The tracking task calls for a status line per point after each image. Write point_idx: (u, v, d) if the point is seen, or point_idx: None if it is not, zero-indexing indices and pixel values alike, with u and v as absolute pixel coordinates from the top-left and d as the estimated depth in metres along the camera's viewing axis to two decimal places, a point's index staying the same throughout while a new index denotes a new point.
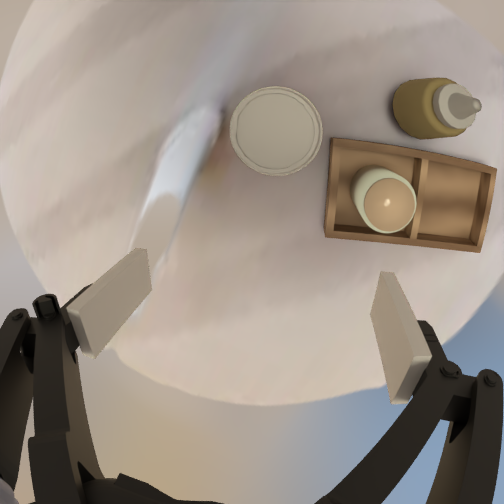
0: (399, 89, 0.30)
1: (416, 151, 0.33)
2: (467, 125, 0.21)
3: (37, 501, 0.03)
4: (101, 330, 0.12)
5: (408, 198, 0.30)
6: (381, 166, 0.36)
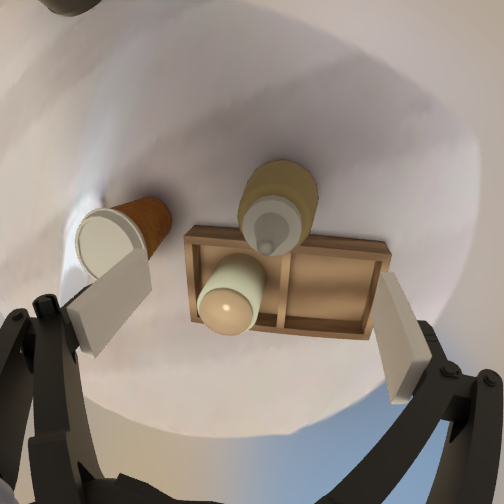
0: (250, 178, 0.32)
1: None
2: (285, 250, 0.24)
3: (37, 501, 0.03)
4: (101, 330, 0.12)
5: (243, 309, 0.32)
6: (241, 257, 0.38)
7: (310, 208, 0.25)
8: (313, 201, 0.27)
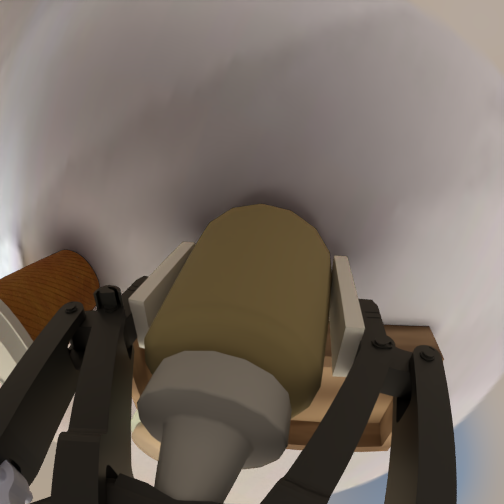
0: (198, 241, 0.16)
1: None
2: (247, 467, 0.08)
3: (53, 496, 0.04)
4: None
5: None
6: None
7: (316, 366, 0.09)
8: (324, 322, 0.11)
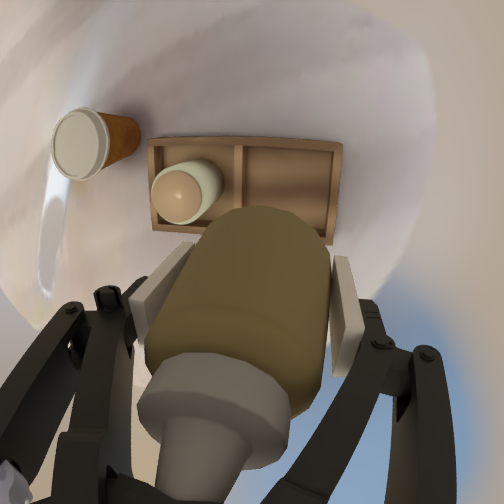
0: None
1: (227, 138, 0.35)
2: (247, 468, 0.08)
3: (52, 497, 0.04)
4: None
5: (191, 188, 0.32)
6: (199, 159, 0.39)
7: (316, 367, 0.09)
8: (324, 324, 0.11)
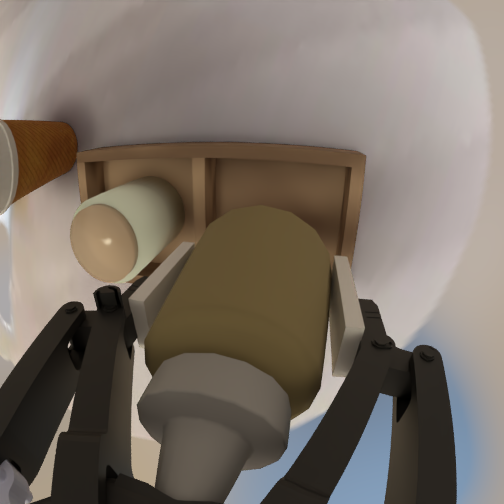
0: (198, 242, 0.16)
1: (181, 148, 0.22)
2: (247, 468, 0.08)
3: (52, 496, 0.04)
4: None
5: (119, 234, 0.19)
6: (146, 178, 0.25)
7: (316, 368, 0.09)
8: (324, 324, 0.11)
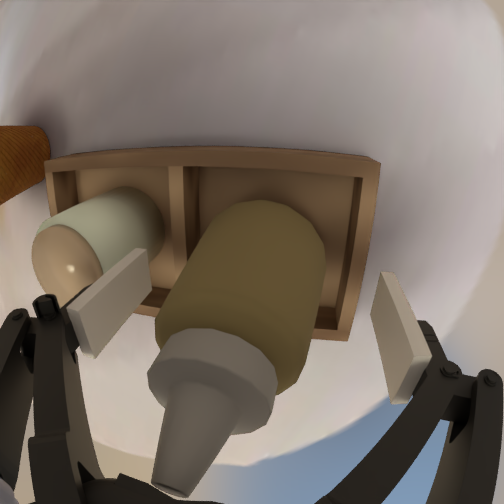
0: None
1: (155, 154, 0.18)
2: (239, 432, 0.10)
3: (37, 501, 0.03)
4: (101, 330, 0.12)
5: (80, 262, 0.15)
6: (120, 190, 0.21)
7: (300, 345, 0.11)
8: (311, 307, 0.13)
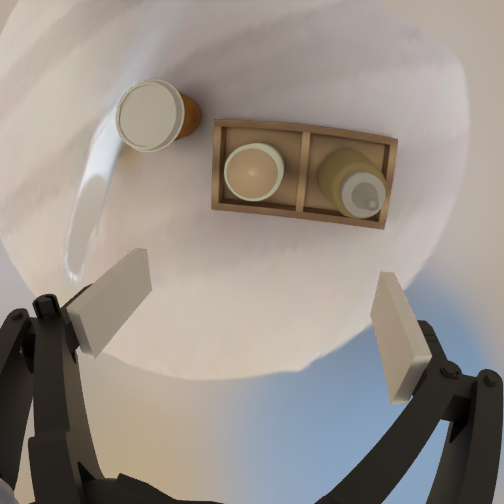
0: (325, 161, 0.37)
1: (296, 125, 0.37)
2: (372, 213, 0.29)
3: (37, 501, 0.03)
4: (101, 330, 0.12)
5: (269, 166, 0.34)
6: (264, 142, 0.40)
7: (386, 184, 0.30)
8: None
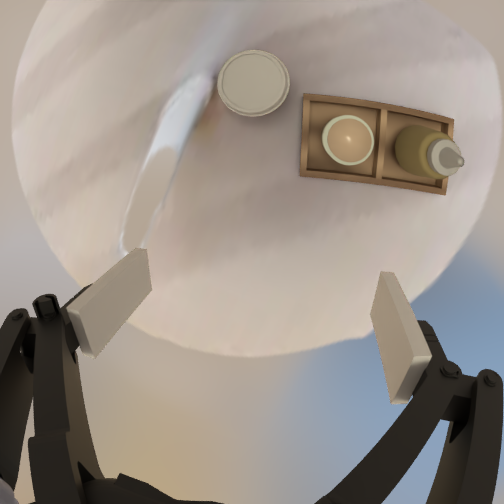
0: (401, 134, 0.38)
1: (375, 103, 0.39)
2: (453, 173, 0.30)
3: (37, 501, 0.03)
4: (101, 330, 0.12)
5: (365, 134, 0.36)
6: None
7: None
8: None
